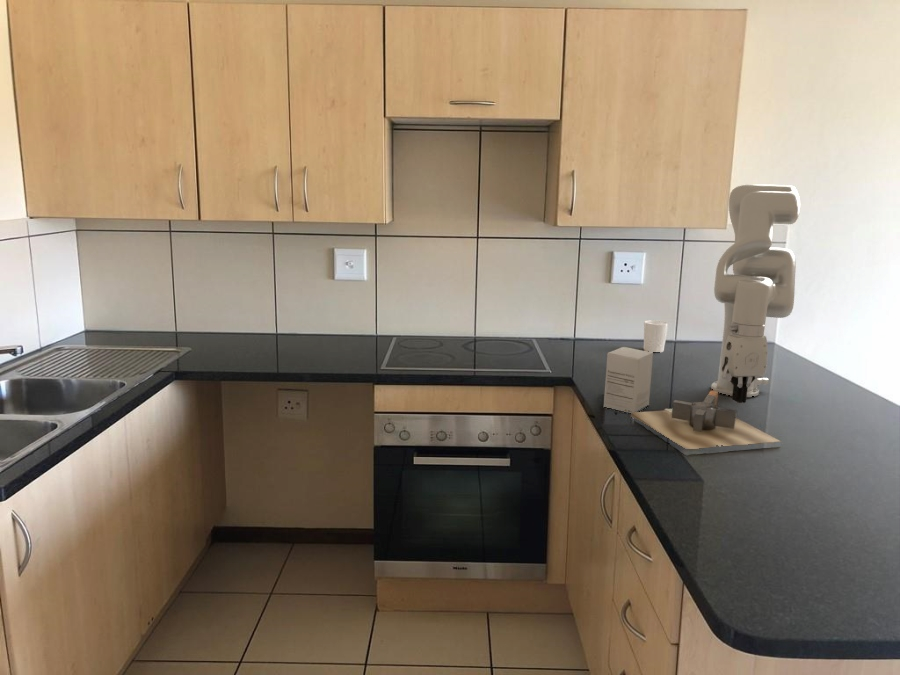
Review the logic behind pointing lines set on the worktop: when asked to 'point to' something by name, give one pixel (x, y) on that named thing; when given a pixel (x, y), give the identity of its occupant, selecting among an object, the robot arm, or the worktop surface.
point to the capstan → (704, 413)
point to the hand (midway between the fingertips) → (738, 401)
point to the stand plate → (702, 432)
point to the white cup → (655, 335)
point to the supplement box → (628, 379)
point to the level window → (668, 411)
